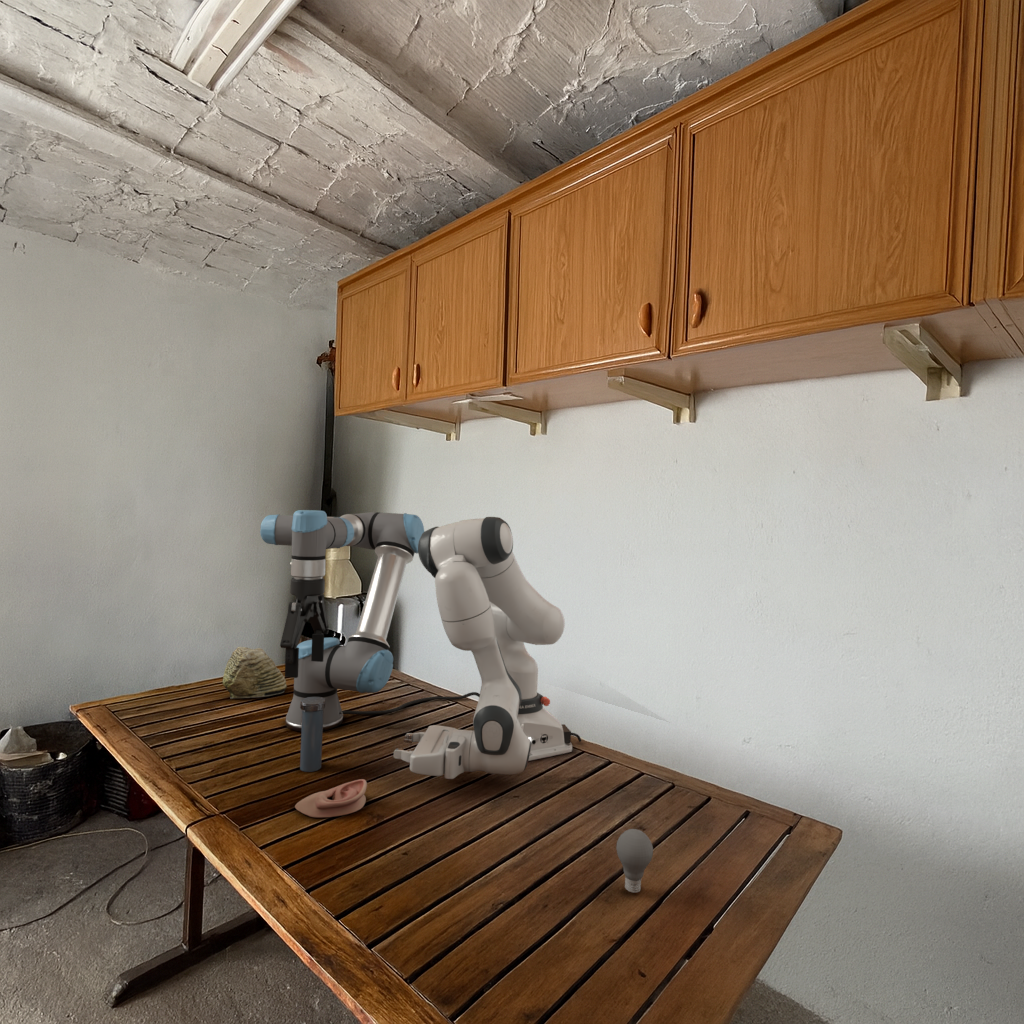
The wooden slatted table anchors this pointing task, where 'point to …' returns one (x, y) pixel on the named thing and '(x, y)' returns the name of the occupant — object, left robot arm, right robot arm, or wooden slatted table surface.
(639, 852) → the light bulb
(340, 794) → the anatomical model
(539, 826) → the wooden slatted table surface
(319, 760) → the jar
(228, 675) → the fossil
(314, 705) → the lid
